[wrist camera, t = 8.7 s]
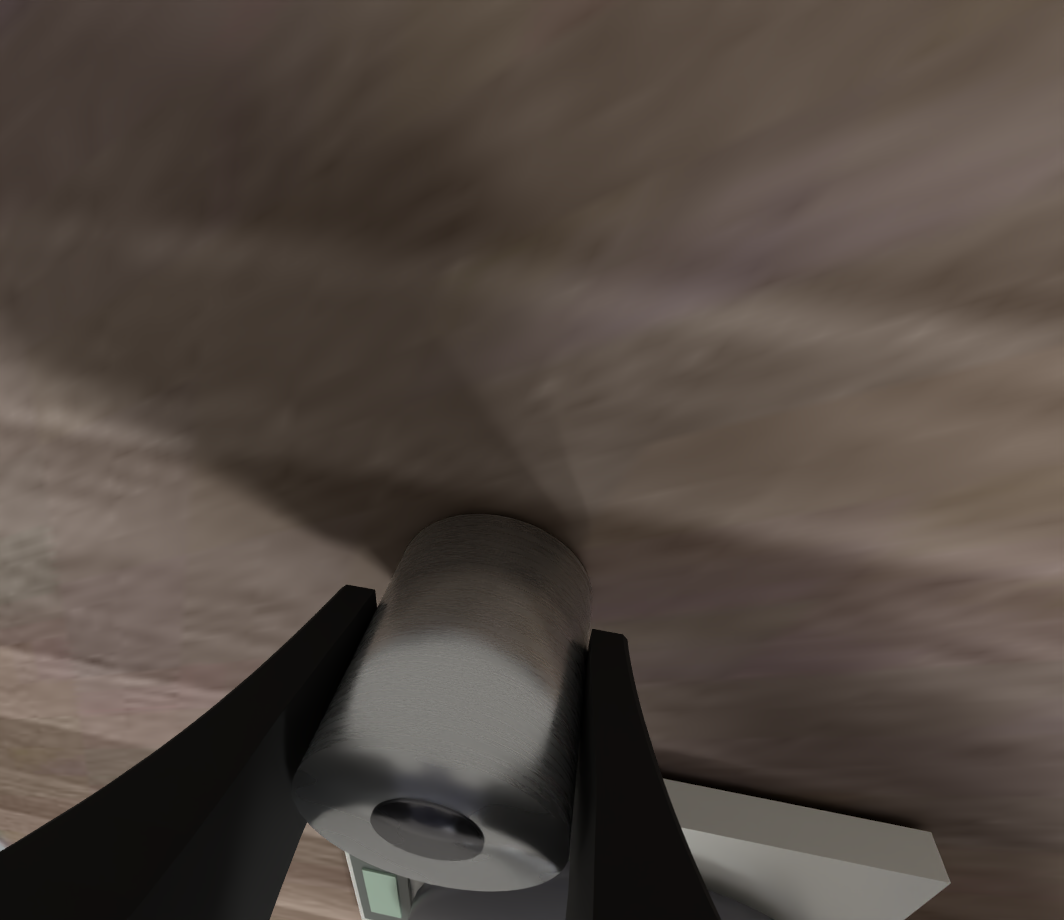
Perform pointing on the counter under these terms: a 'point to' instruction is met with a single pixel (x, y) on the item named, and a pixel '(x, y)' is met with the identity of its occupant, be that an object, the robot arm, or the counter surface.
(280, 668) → the robot arm
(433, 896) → the scale pan
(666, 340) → the counter surface
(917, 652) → the counter surface
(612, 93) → the counter surface
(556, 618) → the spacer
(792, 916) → the scale base
